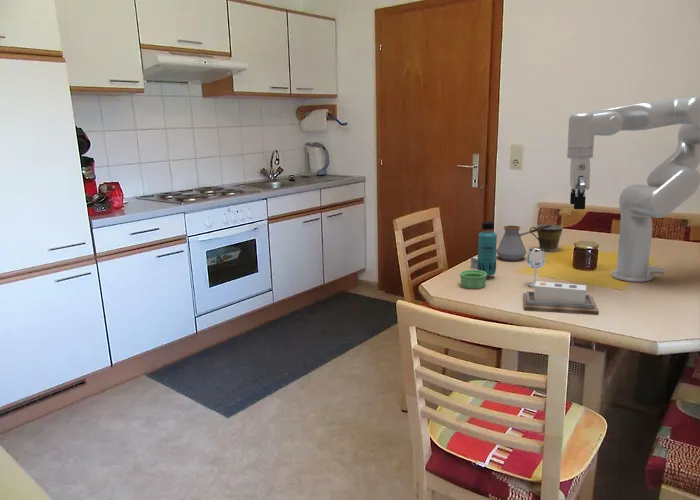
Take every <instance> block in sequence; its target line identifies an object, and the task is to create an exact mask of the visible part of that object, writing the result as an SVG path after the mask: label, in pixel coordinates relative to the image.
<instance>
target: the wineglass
mask: <svg viewBox="0 0 700 500" xmlns="http://www.w3.org/2000/svg"><path fill="white" fill-rule="evenodd" d="M545 262H546V255H545V251H544V250H543V249H540V248H537V247H536V248H535V247H533V248H529V249H528V253H527V256H526V264H527V266H528V267H530V268H532V269H534V270H533V273H534V276H533V277H534V279H533V281H531V282H528V283H527V285H528V286H530V287H534V286H535V283H536V281H537V280H536V279H537V273H538V270H539V269H541V268H543V267H544V266H545ZM537 269H538V270H537Z"/></svg>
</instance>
